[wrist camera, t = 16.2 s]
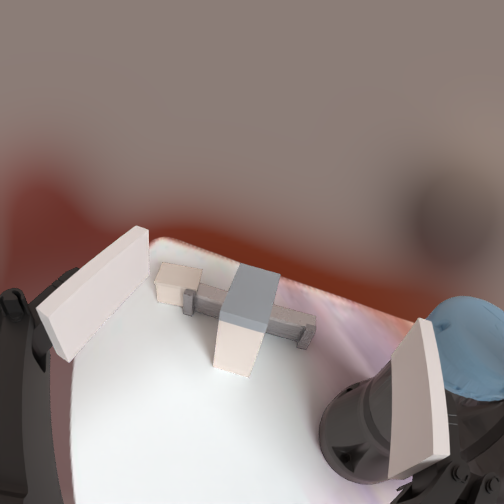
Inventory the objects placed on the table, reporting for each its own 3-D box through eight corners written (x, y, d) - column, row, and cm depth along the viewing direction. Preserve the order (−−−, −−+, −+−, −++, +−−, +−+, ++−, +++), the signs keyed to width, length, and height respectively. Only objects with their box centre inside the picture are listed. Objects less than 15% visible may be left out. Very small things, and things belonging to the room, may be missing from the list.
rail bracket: (309, 323, 45) (318, 305, 42) (305, 349, 41) (315, 332, 38) (195, 290, 47) (196, 270, 44) (183, 313, 42) (183, 293, 40)
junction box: (201, 290, 47) (202, 269, 44) (195, 310, 43) (196, 289, 41) (163, 283, 47) (162, 262, 44) (156, 302, 43) (154, 281, 40)
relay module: (261, 332, 42) (280, 274, 35) (249, 377, 36) (267, 324, 29) (229, 323, 43) (240, 262, 35) (212, 366, 36) (220, 310, 29)
